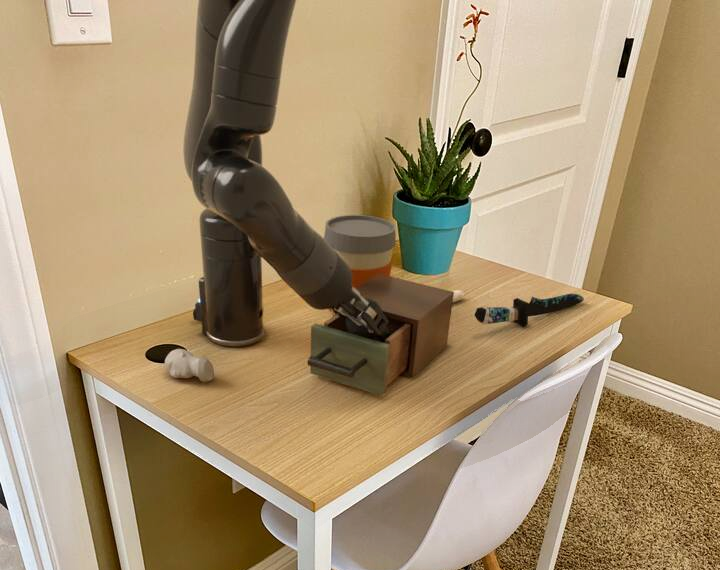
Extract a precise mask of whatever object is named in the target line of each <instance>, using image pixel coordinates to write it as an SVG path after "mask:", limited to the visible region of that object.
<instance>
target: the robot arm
mask: <svg viewBox="0 0 720 570" xmlns="http://www.w3.org/2000/svg"><path fill="white" fill-rule="evenodd" d="M296 4H297V0H198V4H197V12H196V13H197V14H196V23H195V25H196V26H195V43H194V44H195V45H194V64H193V65H194V67H193V78H192V79H193V80H192V86H191V87H192V88H191V95H190V100H189V105H188V111H187V116H186V122H185V128H184V136H183V164H184V168H185V169H184V170H185V172H186V174H187V177H188V178H189V180H190V181H191V184H192V190H193V194H194V196H195V197H196V199H197V201H198V203H200V205H202V206H203V207H204V208H205V209H203V210H202V211H201V213H200V215H199V222H198V223H199V234H200V245H201V246H200V247H201V249H200V250H201V262H202V263H201V264H202V277H200V278H199V279H198V292H199V293H198V294H199V298H198V300H197V302H196V303H195V304H194V307H195V308H194V309H193V311H192V317H193V321H197V322H200V323H201V333H202V335H204V336H206V337H207V339H208V340H209V341H210V342H212V343H213V344H217V345H220V346H224V347H245V346H250V345H253V344H256V343H258V342H260V341H261V340H262V339H263V337H264V336H265V332H264V310H265V309H264V306H265V305H264V303H263V269H262V268H263V267H262V265H263V264H262V259H263V260H264V261H265V262H266V263H267V264H268V265H269V266H270V267H271V268H272V269H273V270H274V271H275V273H277V275H278V276H279V277H280V279H281V280H282V281H283V282H284V283H286V285H287V286H289V287H290V289H292V291H294V292H295V293H296V294H297V295H298V296H299V297H300V298H301V299H302V300H303V301H304V302H305V303H306V304H307V305H308V306H309V307H310V308H313V309H315V310H320V311H323V310H328V311H330V312H332V313H333V314H334V315H337V316H340V317H342V318H343V319H344V320H345V317H347V318H348V319H349V320H350V321H352V322H353V323H354V324H355V325H359V326H361V325H362V326H363V327H364V328H365V329H367V330H368V332H369V333H371V334H372V335H373V336H374V337H375V338H376V339H377V340H378V341H379V342H383V343H385V340H386V339H387V338H388V337H389V336H390V335H391V331H390V330H389V328H388V327H387V326H386V325H387V324H388V322H389V321H388V319H387V318H386V317H385V315H384V314H383V313H382V311H381V310H380V309H379V307H378V306H377V305H376V303H375V302H372V301H370V302H368V301H367V300H365V299H364V298H363V297H362V296H361V295H360V292H359V291H358V290H356V289H355V288H354V287H353V286H352V272H351V269H350V267H349V266H348V265H347V264H346V263H345V261H344V260H343V259H342V258H341V257H340V256H339V255H338V254H337V252H336V251H335V250H334V249H333V248H332V247H331V246H330V245H329V244H328V242H327V241H326V240H325V239H324V236H322V235H321V234H320V233H318V231H316V230H315V229H313V227H312V226H311V225H310V224H309V222H308V221H306V220H305V218H304V217H303V216H302V215H301V214H300V213H299V212H298V211H297V210H296V209H295V208H294V206H293V203H292V202H291V200H290V199H289V197H288V195H287V193H286V192H285V190H284V188H283V186H282V185H281V184H280V182H279V181H278V180H277V178H275V176H274V175H273V174H272V173H271V172H270V171H269V170H268V169H266V168H265V167H264V166H263V144H262V138H261V136H263V135H266V134H268V133H269V132H271V131H272V128H273V127H274V123H275V118H276V113H277V105H278V101H279V93H280V86H281V79H282V72H283V64H284V57H285V52H286V47H287V41H288V35H289V32H290V26H291V23H292V19H293V14H294V11H295V7H296ZM358 311H360V314H359V315H358V317H357V318H355V317H353V316H354V315H356V314H357V313H358ZM345 321H346V320H345Z"/></svg>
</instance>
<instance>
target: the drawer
mask: <svg viewBox="0 0 720 570" xmlns="http://www.w3.org/2000/svg"><path fill="white" fill-rule="evenodd" d="M386 318H387V319H388V321H389V322H388V324H387V325H386V326H387V327H388V328H389V330H390V331H391V335H390V336H389V337H388V338H387V339H386V340H385V343H383V342H379V341H378V340H377V339H376V338H374V340H372V339H368V338H365V337H361V336H358V335H354V334H351V333H350V332H349V330H348V328H347V325H346V321H345V320H344V319H343V318H342V317H340V316H337V315H336V314H334V315H333V316H332V317H330V318H329V319H327V320H326V321H324V322H323V325H322V324H318V323H313V324H312V325H311V326H310V356H309V357H308V359H307V366H309V367H310V369H309V370H310V372H309V373H310V375H314V376H317V377H321V378H324V379H326V380H330V381H333V382H336V383H339V384H342V385H346V386H349V387H353V388H356V389H359V390H362V391H365V392H369V393H371V394H375V395H378V396H382V397H383V396H384V395H386V394H387V386H388V385H389V384H390V383H392V381H394V380H395V379H396V378H398V376H399V375H401V374H400V373H401V372H403V371H404V370H405V369H406V368H407V367H408V366H409V362H410V352H411V342H412V332H413V324H411V323H407V322H404V321H400V320H396V319H393V318H389V317H386Z"/></svg>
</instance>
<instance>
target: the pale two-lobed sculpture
mask: <svg viewBox="0 0 720 570" xmlns="http://www.w3.org/2000/svg"><path fill="white" fill-rule="evenodd" d="M164 368H165V371H166V373H167V374H168V375H169V376H171V377H172V378H174V379H179V378H180V379H191V378H193V376H194V377H197V378H199V380H200V382H202V383H208V382H209V381H211V380H213V379H214V376H215V371H214V365H213V364H212V362H211V361H210V359H209V358H208V356H206V355H201V356H199V357H197V356H194V354H193V353H192V352H190V351H188V350H186V349H183V348H176V349H173V350H171V351H169V353H168V354H167V355H166V357H165V359H164Z"/></svg>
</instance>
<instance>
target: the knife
mask: <svg viewBox="0 0 720 570" xmlns="http://www.w3.org/2000/svg"><path fill="white" fill-rule="evenodd" d="M584 299H585V298H584V297H583V296H582V295H580V294H579V293H567V294H562V295H558V296H553V297H548V298H537V297H535V296H531V298H530V301H529V302H527V301H525V300H522V299H520V298H518V297H516V298H514V299H513V301H512V302H513V303H512V306H492V307H491V306H481V307H477V308H476V310H475V312H474V317H475V318H476V320H477V321H478V323H479V324H482V325H483V326H485V325H490V324H491V325H492V324H499V323H505V322H512V321H513V322H514V323H516V324H518V325H519V326H522V327H526V326H527V325H529V317H536V316H542V315H547V314H552V313H556V312H560V311H563V310H566V309H570V308H572V307H576V305H579V304H581V303H582V302H583V301H584Z"/></svg>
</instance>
